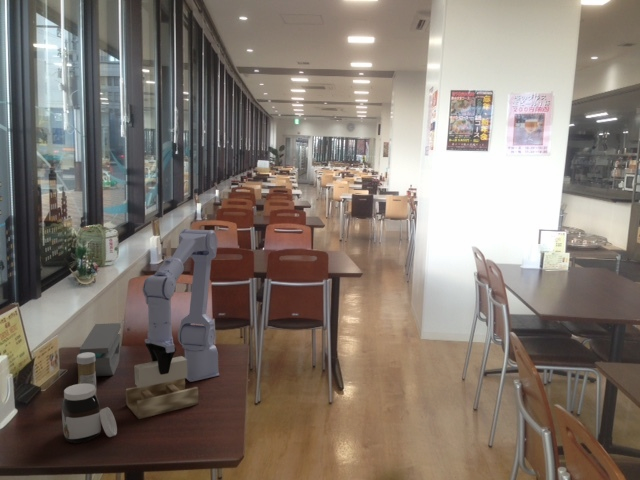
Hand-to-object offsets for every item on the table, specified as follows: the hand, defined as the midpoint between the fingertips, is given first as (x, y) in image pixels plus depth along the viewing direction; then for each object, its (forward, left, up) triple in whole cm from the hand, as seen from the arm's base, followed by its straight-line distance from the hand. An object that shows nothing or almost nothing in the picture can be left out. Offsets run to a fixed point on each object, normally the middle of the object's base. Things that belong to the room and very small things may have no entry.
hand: (161, 371), depth 155 cm
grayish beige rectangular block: (0, 0, -3) cm, 3 cm away
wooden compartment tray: (0, 0, -9) cm, 9 cm away
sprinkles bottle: (+16, -12, -10) cm, 22 cm away
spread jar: (+20, +7, -10) cm, 23 cm away
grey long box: (+6, -35, -10) cm, 37 cm away
